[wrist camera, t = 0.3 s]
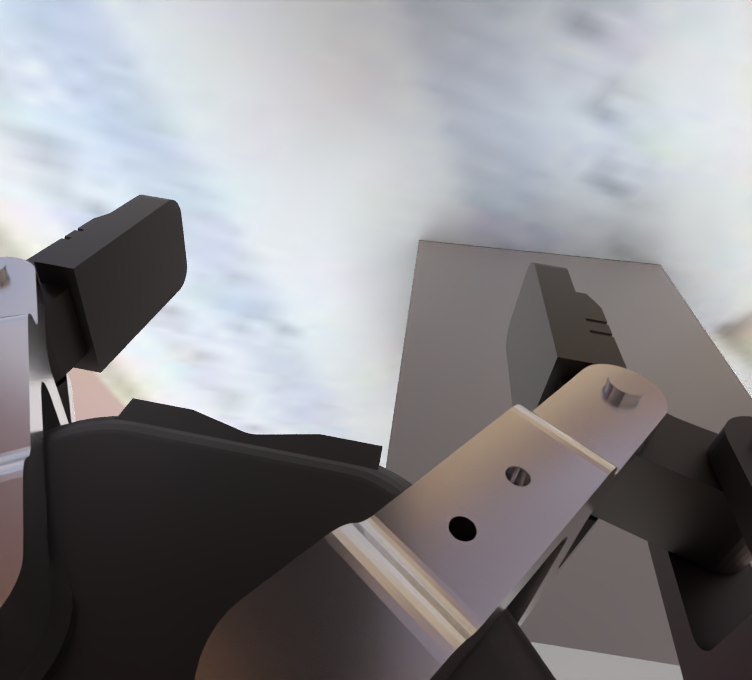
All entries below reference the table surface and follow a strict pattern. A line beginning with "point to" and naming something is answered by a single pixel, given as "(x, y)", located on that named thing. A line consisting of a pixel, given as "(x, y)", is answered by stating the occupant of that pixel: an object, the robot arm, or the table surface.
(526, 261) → the grey rectangular block
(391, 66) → the table surface
